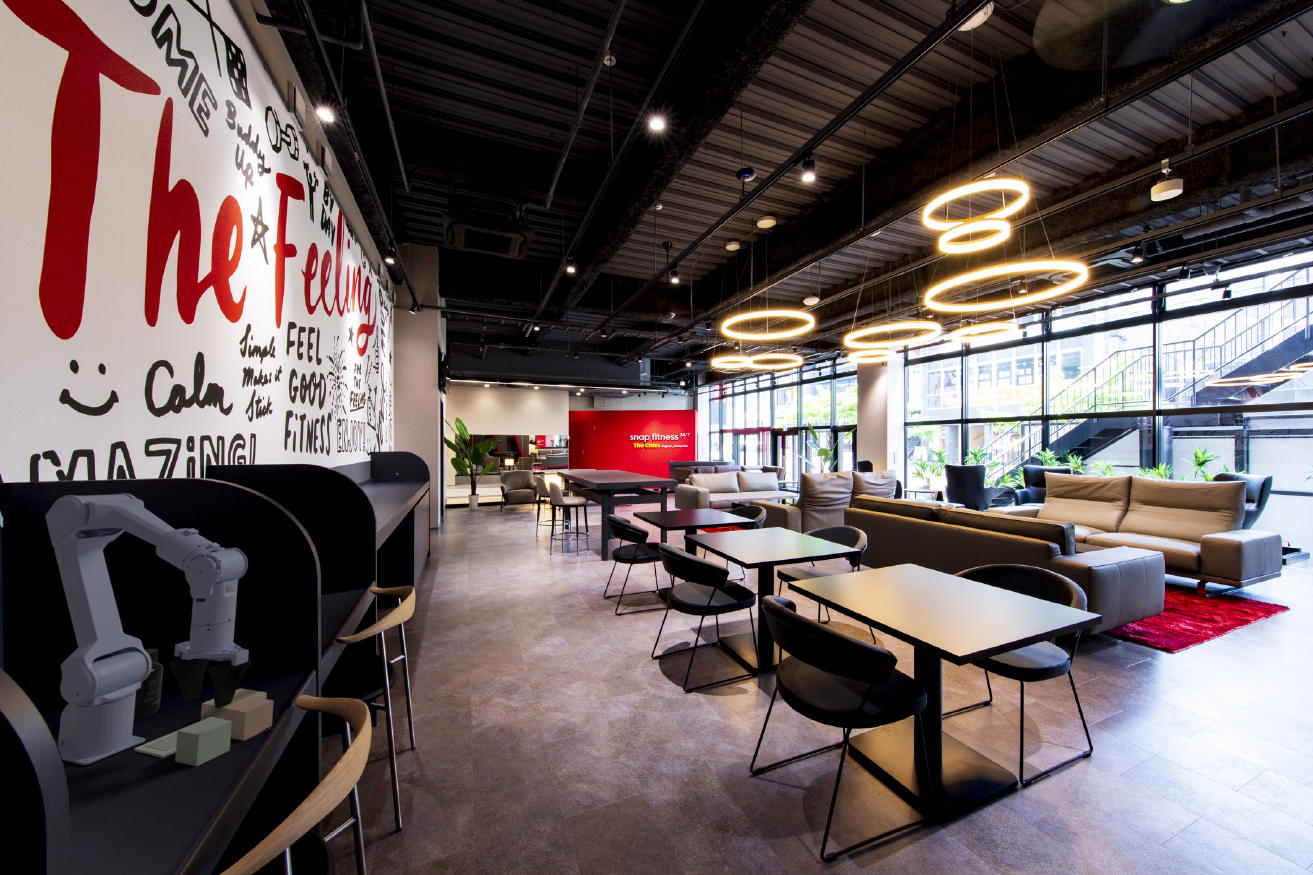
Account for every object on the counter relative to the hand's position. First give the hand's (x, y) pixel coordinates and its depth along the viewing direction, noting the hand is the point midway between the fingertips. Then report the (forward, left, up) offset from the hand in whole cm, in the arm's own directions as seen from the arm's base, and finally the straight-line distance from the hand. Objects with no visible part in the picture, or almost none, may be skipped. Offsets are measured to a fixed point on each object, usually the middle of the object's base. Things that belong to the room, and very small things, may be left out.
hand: (207, 702), depth 86 cm
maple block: (-9, +11, -9) cm, 17 cm away
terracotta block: (-1, +8, -9) cm, 12 cm away
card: (-9, +1, -9) cm, 13 cm away
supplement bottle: (-28, +6, -9) cm, 30 cm away
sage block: (0, 0, -9) cm, 9 cm away
